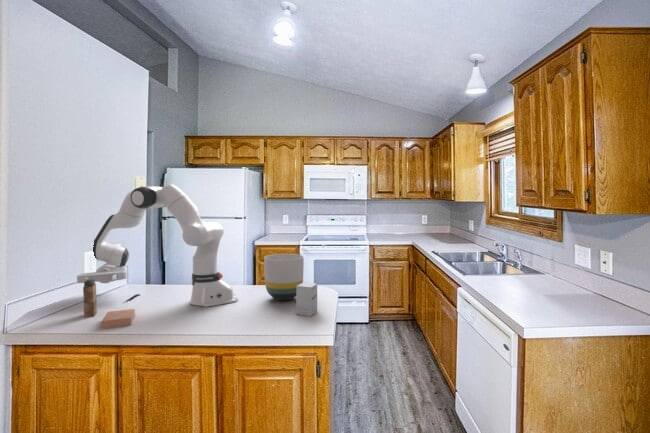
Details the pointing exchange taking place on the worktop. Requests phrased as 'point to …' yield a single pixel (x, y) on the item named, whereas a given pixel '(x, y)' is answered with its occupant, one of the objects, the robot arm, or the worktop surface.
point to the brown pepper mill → (90, 298)
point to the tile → (118, 318)
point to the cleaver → (132, 298)
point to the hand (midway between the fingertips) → (99, 279)
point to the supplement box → (306, 298)
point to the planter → (283, 275)
